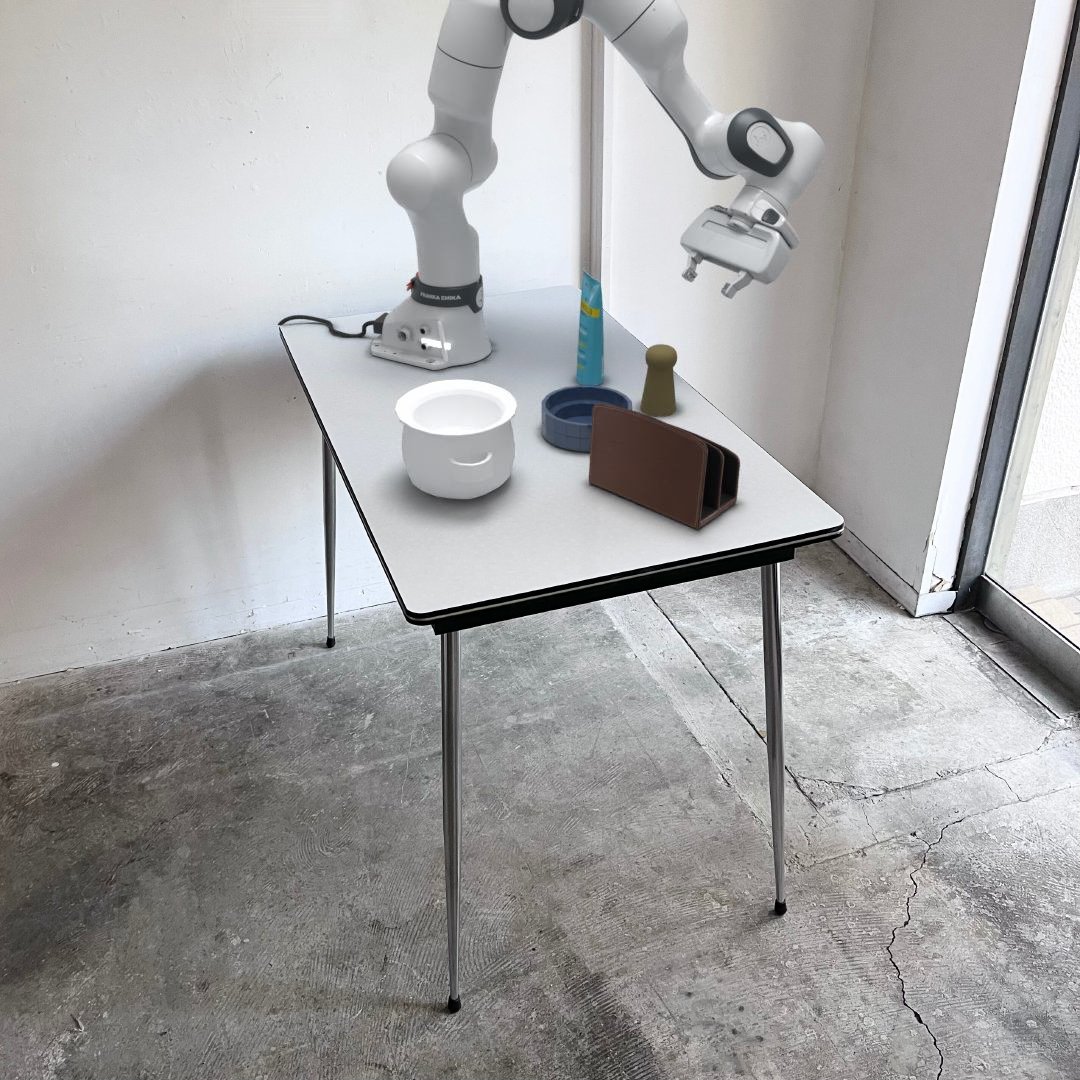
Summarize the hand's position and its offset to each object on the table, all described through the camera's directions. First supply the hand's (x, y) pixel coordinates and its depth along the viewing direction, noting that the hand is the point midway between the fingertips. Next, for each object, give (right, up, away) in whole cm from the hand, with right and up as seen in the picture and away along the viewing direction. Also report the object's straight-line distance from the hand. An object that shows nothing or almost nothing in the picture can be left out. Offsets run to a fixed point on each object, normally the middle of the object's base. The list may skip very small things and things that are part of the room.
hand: (705, 287), depth 179 cm
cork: (-7, -20, +4) cm, 21 cm away
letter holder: (-9, -35, -20) cm, 41 cm away
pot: (-39, -33, -16) cm, 54 cm away
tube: (-18, -14, +13) cm, 26 cm away
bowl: (-20, -24, -3) cm, 31 cm away
